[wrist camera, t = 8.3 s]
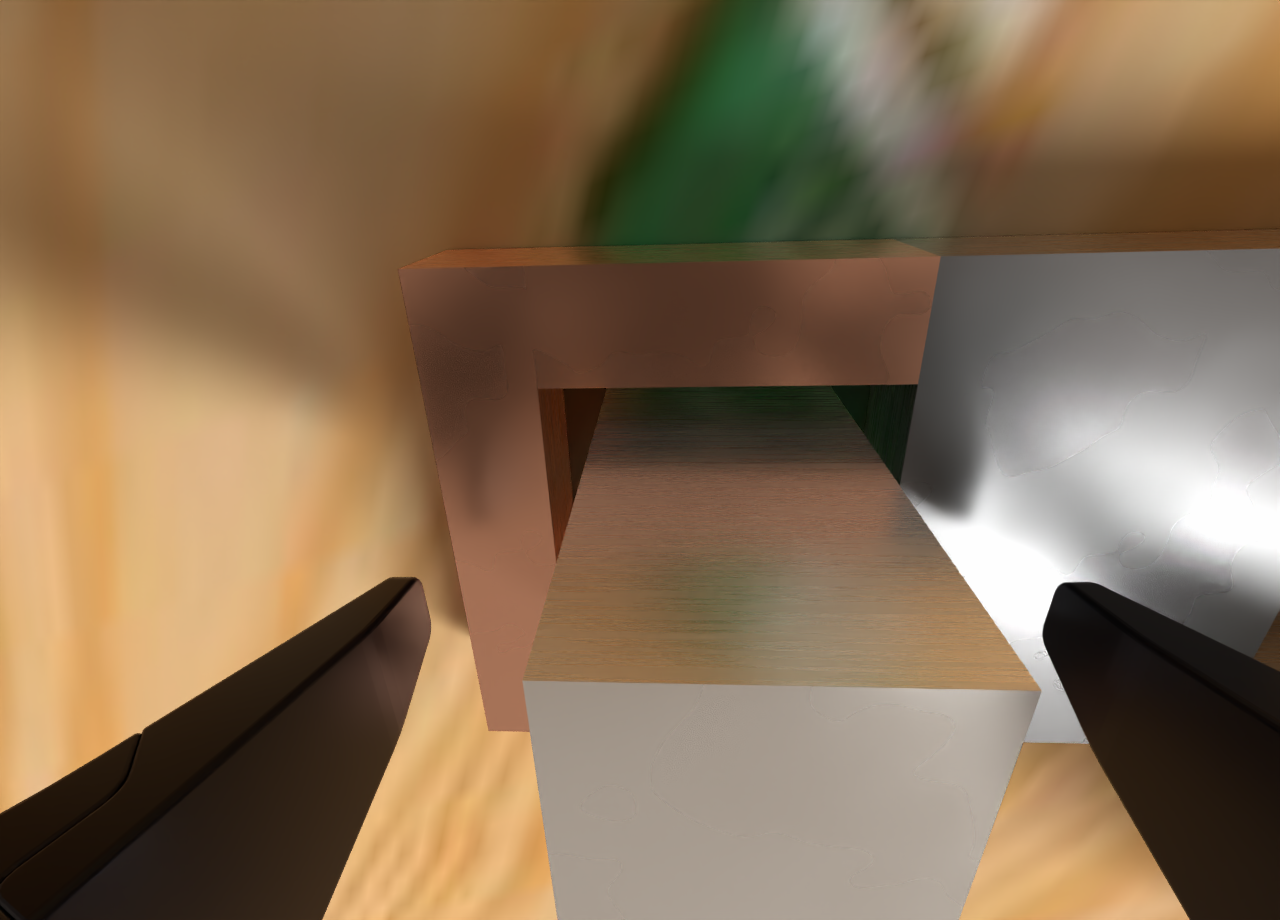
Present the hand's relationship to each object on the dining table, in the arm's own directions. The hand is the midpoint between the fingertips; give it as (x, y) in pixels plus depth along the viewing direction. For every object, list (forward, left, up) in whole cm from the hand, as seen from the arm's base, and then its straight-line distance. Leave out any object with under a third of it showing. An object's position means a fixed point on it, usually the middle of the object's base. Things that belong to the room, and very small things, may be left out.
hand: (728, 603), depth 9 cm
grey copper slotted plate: (-6, 0, -4) cm, 7 cm away
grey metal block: (0, 0, -4) cm, 4 cm away
